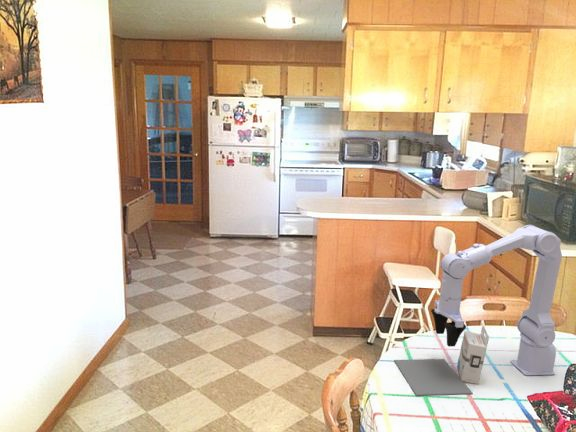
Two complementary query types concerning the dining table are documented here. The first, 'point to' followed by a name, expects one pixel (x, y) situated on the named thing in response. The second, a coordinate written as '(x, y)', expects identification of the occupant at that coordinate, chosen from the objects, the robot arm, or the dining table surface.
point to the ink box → (472, 355)
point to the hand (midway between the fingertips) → (445, 339)
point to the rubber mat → (432, 377)
